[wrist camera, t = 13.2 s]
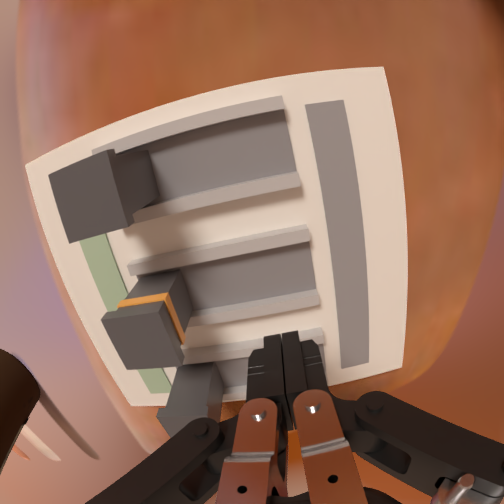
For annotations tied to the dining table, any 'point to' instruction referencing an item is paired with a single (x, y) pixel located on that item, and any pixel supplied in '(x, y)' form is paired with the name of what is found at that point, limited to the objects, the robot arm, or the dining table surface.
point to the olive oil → (14, 401)
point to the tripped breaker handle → (151, 322)
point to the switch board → (240, 229)
